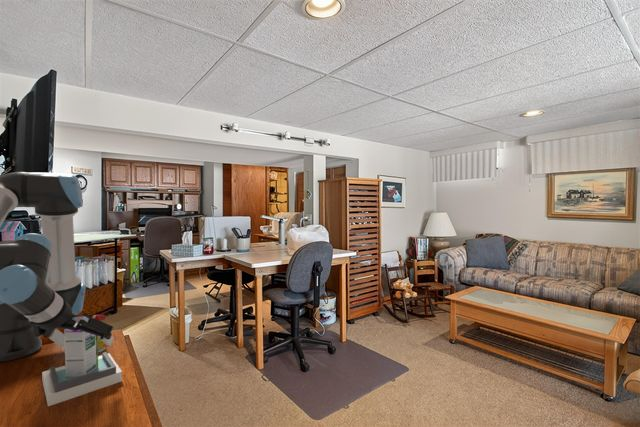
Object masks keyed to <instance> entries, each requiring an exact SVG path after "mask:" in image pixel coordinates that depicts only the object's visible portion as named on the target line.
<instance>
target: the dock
mask: <svg viewBox="0 0 640 427" xmlns="http://www.w3.org/2000/svg"><path fill="white" fill-rule="evenodd" d="M41 378H42V379H41V380H42V388H43V390H44V395H45V399H46V404H47V407H50V406H54V405H57V404H60V403H63V402H65V401H69V400H71V399H74V398H77V397H80V396H83V395H86V394H88V393H89V394H90V393H92V392H95V391H98V390H100V389H103V388H106V387H110V386H113V385H115V384H118V383H121V382H123V370H121V368H120V366H119V365H118V363H117V362H116V361H115V359H114V358H113V356H112V355H111V353H109V352H108V353H107V351H104V352H102V353H101V355H98V368H96V369H95V370H93V371H92V372H91V373H89V374H86V375H83V376H79V377H66V368H65V365H62V366H59V367H55V365H52V366H50V367H49V369H48V370H45V371H42V372H41Z"/></svg>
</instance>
